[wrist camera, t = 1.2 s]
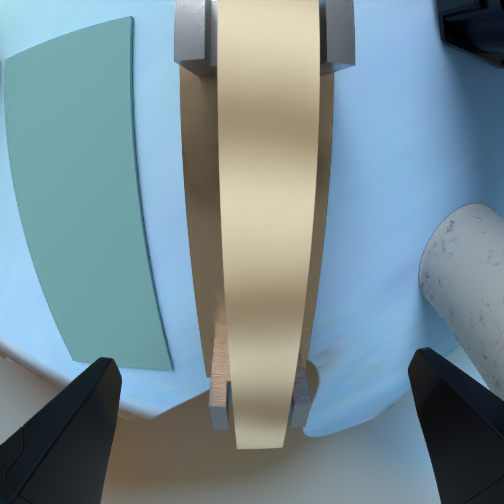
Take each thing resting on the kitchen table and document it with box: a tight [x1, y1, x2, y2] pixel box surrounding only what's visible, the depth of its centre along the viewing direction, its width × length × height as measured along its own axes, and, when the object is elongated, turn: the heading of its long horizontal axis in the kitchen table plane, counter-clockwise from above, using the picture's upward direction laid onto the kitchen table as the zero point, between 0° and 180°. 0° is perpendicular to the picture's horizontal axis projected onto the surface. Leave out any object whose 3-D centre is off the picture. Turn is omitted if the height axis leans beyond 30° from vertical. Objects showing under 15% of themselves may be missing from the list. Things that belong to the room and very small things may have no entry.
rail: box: [217, 0, 320, 449], centre depth 13 cm, size 25×3×3 cm, turn 0°
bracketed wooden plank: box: [174, 0, 355, 430], centre depth 15 cm, size 26×8×7 cm, turn 0°
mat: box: [4, 16, 173, 371], centre depth 18 cm, size 10×26×1 cm, turn 0°
